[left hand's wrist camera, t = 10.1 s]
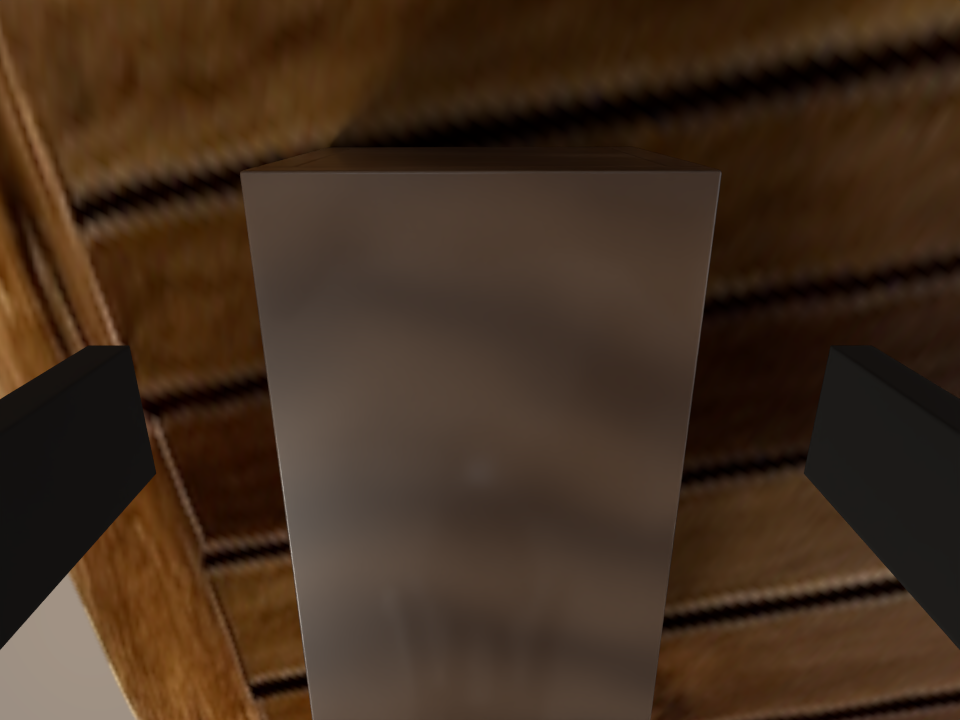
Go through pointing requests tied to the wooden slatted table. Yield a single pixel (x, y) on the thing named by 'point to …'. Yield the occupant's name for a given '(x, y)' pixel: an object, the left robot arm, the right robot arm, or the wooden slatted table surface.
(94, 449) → the left robot arm
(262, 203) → the cabinet
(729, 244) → the wooden slatted table surface
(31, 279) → the wooden slatted table surface
